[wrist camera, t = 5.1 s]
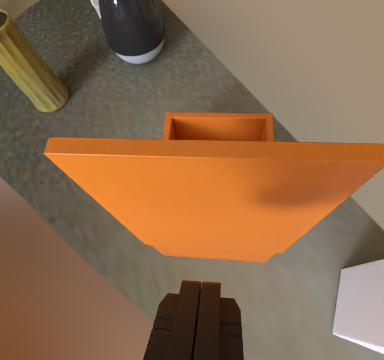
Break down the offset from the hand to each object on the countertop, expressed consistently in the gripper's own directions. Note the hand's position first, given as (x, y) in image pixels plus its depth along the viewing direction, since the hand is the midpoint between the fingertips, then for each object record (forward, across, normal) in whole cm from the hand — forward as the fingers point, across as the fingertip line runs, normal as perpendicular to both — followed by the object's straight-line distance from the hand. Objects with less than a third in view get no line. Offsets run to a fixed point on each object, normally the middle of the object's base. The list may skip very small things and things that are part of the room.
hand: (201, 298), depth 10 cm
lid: (+7, 0, 0) cm, 7 cm away
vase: (+37, +29, -5) cm, 48 cm away
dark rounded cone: (+45, +15, -13) cm, 49 cm away
